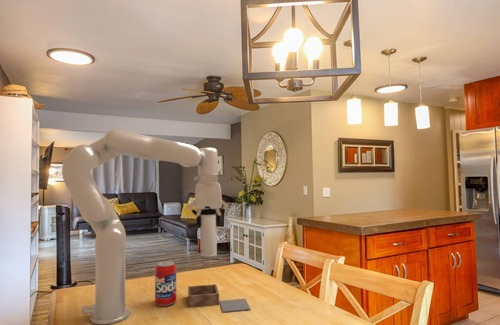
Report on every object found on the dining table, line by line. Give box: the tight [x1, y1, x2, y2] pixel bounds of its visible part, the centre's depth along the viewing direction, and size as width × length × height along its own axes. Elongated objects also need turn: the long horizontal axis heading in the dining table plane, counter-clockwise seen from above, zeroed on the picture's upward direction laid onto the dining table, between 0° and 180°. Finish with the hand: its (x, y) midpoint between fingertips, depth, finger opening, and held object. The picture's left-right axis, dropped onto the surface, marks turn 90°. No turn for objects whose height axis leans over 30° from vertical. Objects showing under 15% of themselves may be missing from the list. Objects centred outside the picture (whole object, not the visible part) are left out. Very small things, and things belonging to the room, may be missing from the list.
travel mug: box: [199, 206, 218, 261], centre depth 126 cm, size 6×7×20 cm
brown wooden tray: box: [187, 283, 220, 308], centre depth 126 cm, size 11×11×4 cm
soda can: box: [154, 260, 177, 307], centre depth 124 cm, size 8×8×15 cm
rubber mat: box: [219, 298, 251, 314], centre depth 121 cm, size 10×10×1 cm
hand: (208, 225), depth 126 cm, fingers closed on travel mug, 6 cm apart
